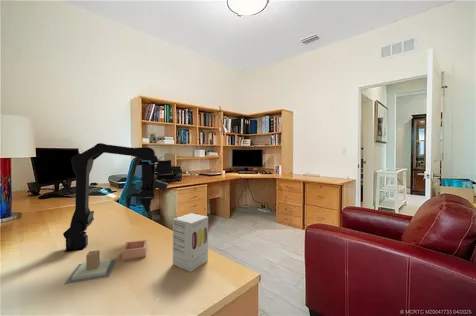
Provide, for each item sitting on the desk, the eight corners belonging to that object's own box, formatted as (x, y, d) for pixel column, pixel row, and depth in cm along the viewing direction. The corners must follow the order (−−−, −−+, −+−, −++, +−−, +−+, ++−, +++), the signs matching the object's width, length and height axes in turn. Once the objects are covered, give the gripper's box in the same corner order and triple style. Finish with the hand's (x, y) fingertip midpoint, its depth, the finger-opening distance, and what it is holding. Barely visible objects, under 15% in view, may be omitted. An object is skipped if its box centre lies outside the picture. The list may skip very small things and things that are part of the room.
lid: (71, 280, 66) (71, 261, 66) (82, 265, 75) (82, 248, 74) (104, 275, 69) (104, 257, 69) (111, 261, 78) (111, 245, 77)
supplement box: (190, 272, 71) (190, 223, 71) (171, 264, 76) (171, 218, 76) (208, 260, 80) (208, 216, 79) (190, 254, 84) (190, 212, 84)
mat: (63, 285, 64) (63, 284, 64) (79, 265, 76) (79, 264, 76) (109, 278, 68) (109, 276, 68) (117, 259, 79) (117, 258, 79)
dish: (122, 261, 78) (121, 251, 78) (125, 251, 86) (125, 242, 86) (145, 258, 81) (145, 247, 81) (147, 249, 88) (147, 239, 88)
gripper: (167, 177, 90) (167, 213, 90) (166, 172, 107) (166, 203, 108) (138, 177, 86) (138, 215, 86) (142, 173, 104) (142, 204, 104)
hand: (148, 209), depth 96 cm, fingers open, 9 cm apart
